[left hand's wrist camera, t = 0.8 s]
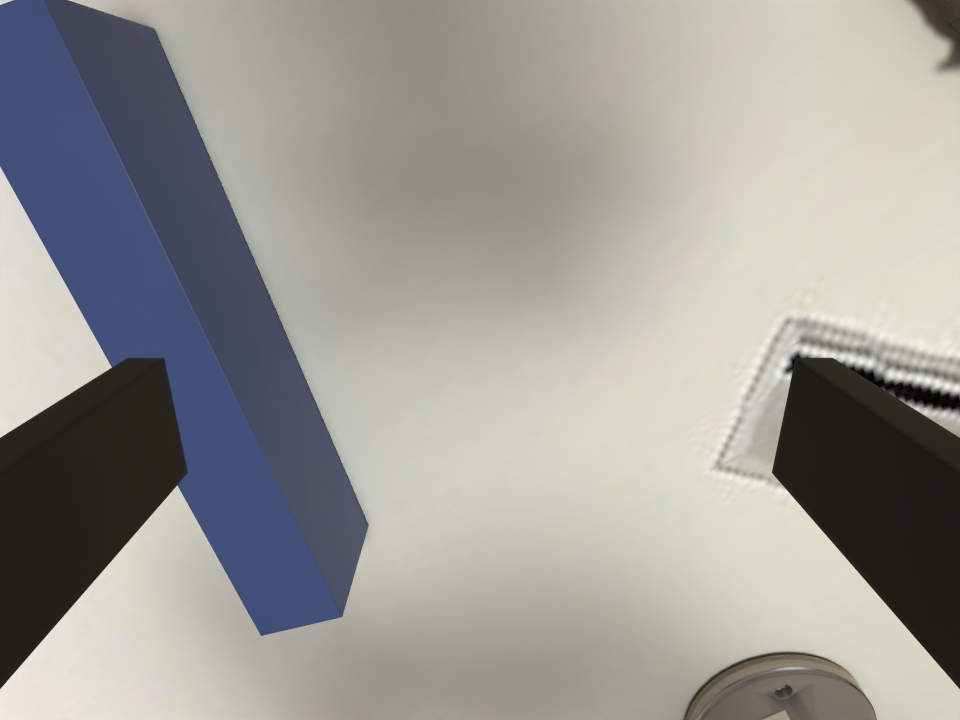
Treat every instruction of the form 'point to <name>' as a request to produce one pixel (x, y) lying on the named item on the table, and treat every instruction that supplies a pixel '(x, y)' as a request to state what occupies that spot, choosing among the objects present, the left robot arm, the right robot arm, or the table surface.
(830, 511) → the left robot arm
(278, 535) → the bar
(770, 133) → the table surface
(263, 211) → the table surface
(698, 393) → the table surface
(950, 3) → the toy gun
